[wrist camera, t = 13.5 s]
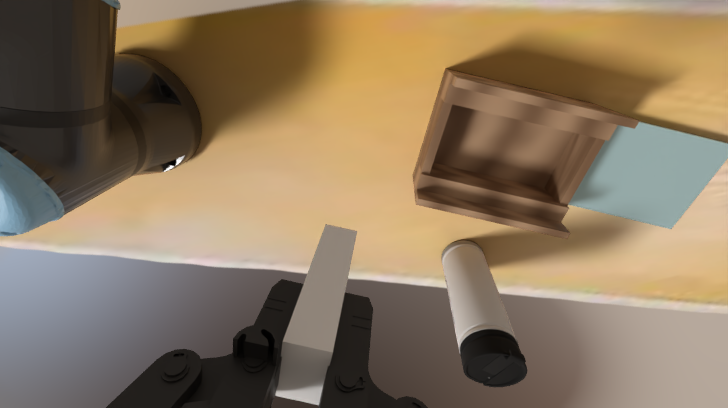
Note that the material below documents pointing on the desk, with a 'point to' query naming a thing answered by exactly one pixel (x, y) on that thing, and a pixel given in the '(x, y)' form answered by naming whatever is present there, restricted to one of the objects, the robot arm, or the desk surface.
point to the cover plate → (649, 173)
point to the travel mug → (480, 318)
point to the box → (508, 152)
